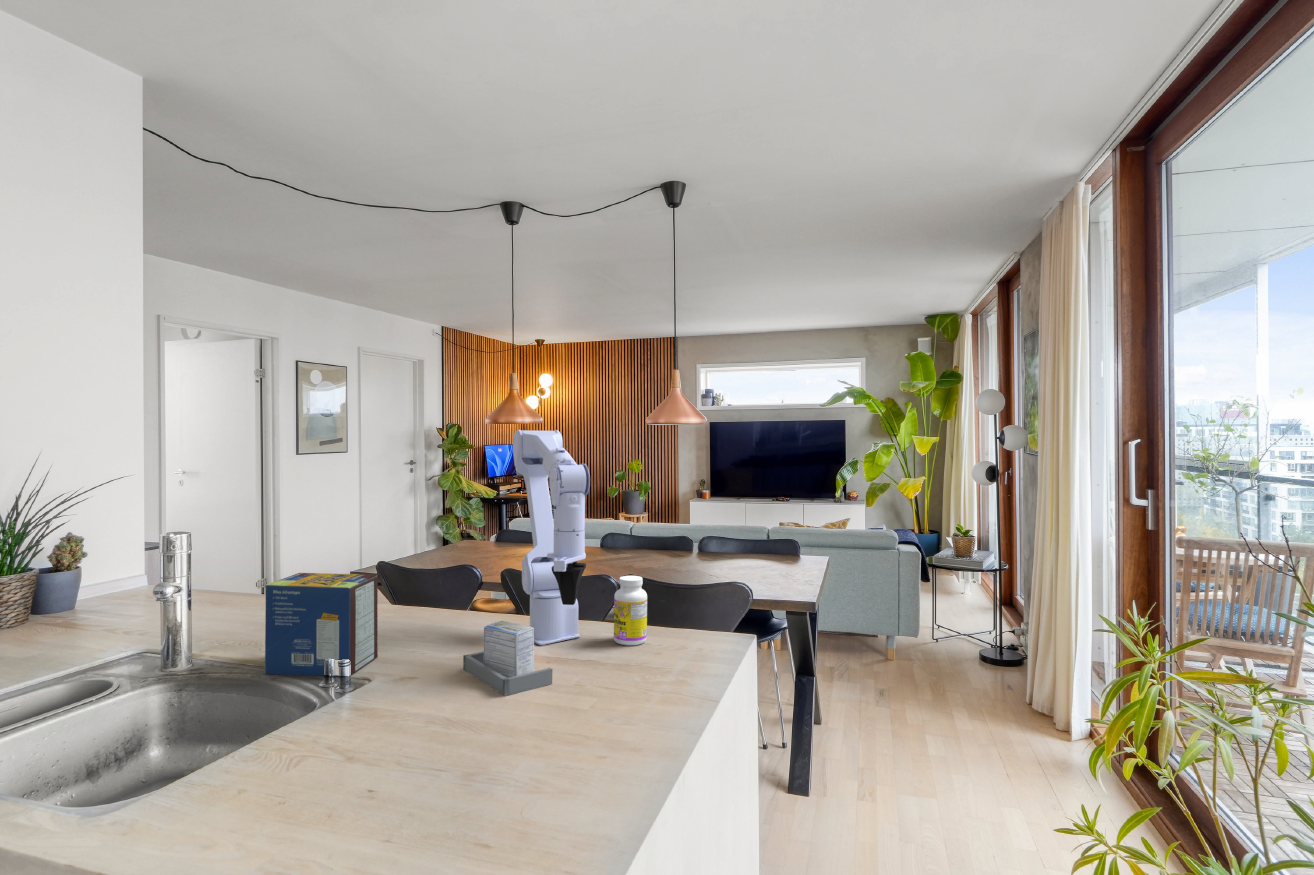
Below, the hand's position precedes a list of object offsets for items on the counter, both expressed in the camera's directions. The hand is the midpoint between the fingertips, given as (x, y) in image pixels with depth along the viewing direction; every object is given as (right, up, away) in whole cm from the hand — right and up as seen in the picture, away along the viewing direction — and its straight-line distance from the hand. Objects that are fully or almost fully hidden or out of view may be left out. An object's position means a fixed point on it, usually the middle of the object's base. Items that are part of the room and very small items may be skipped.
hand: (568, 603), depth 127 cm
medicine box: (-9, -11, -8) cm, 16 cm away
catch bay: (-10, -10, -9) cm, 17 cm away
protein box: (-43, -10, -4) cm, 45 cm away
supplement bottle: (+11, -11, +12) cm, 19 cm away
